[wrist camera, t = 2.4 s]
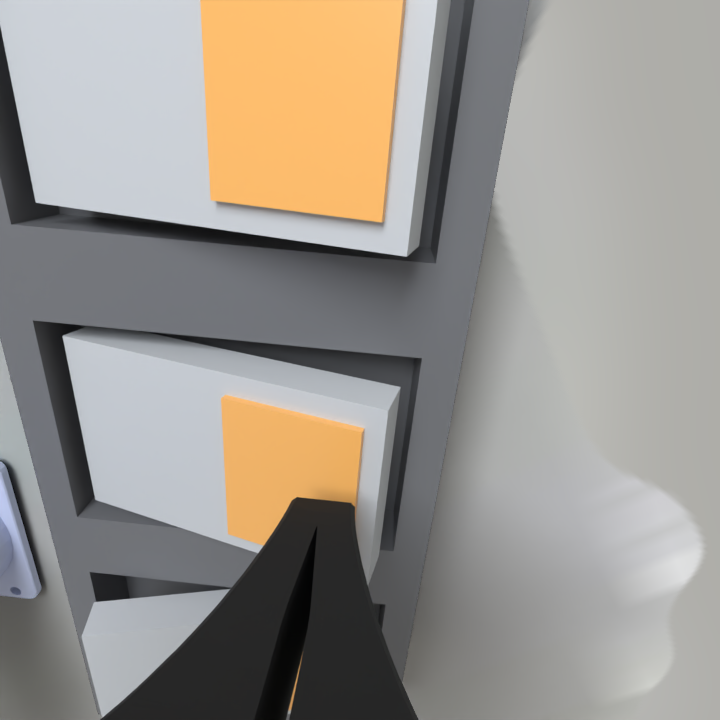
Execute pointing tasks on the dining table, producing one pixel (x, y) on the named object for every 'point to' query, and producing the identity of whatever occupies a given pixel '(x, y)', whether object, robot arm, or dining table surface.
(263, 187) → the rocker outlet
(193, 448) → the outlet rocker
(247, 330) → the power strip
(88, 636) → the outlet rocker
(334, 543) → the robot arm
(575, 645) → the dining table surface
